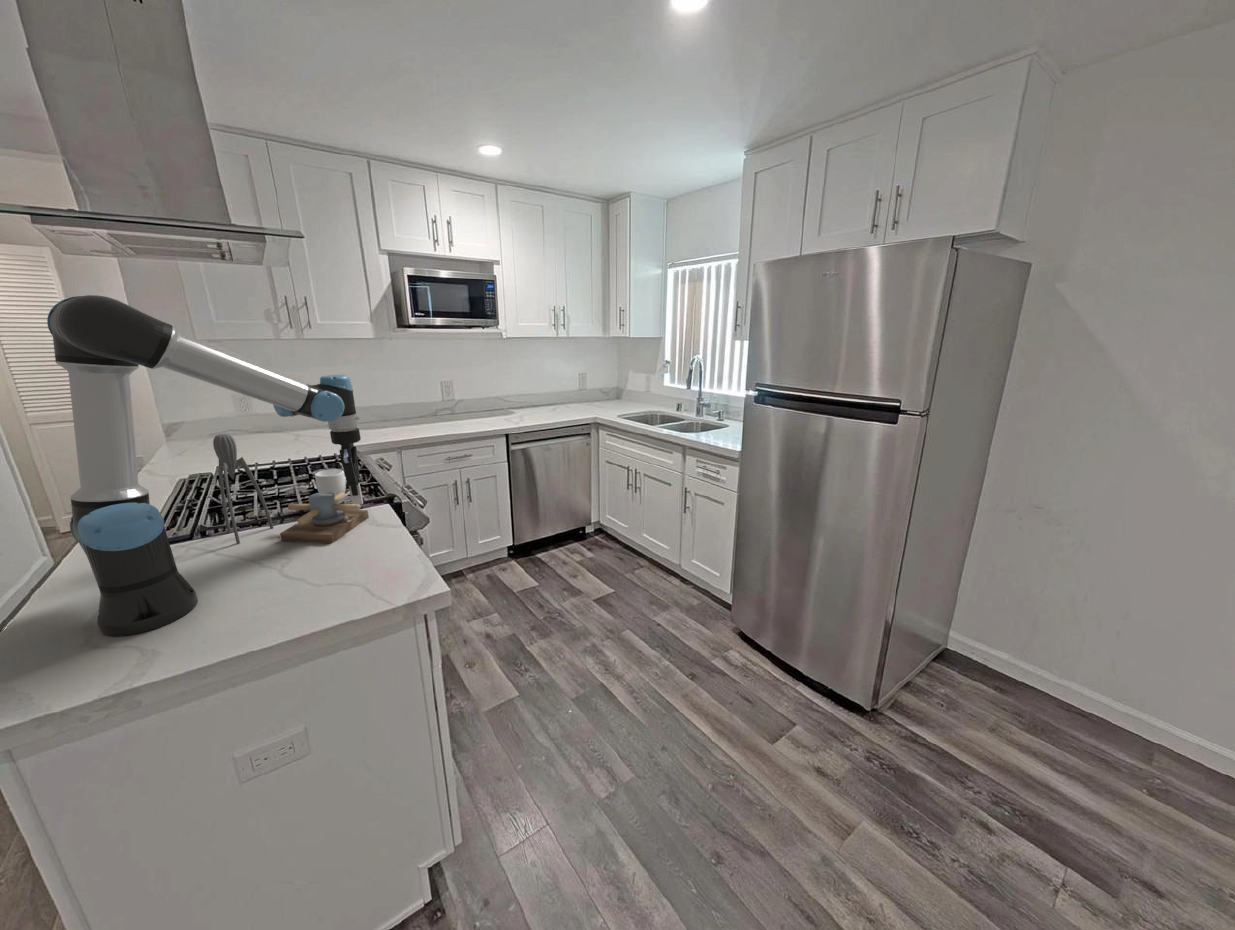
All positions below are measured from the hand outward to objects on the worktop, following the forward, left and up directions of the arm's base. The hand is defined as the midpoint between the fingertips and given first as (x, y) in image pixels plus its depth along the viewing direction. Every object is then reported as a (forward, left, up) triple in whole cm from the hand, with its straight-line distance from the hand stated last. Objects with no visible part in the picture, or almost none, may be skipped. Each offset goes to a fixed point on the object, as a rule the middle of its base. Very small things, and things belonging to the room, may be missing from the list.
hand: (357, 504), depth 146 cm
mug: (+14, +15, -6) cm, 22 cm away
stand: (-6, +7, -6) cm, 11 cm away
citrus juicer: (-11, +29, -6) cm, 32 cm away
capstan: (-6, +6, -3) cm, 9 cm away
